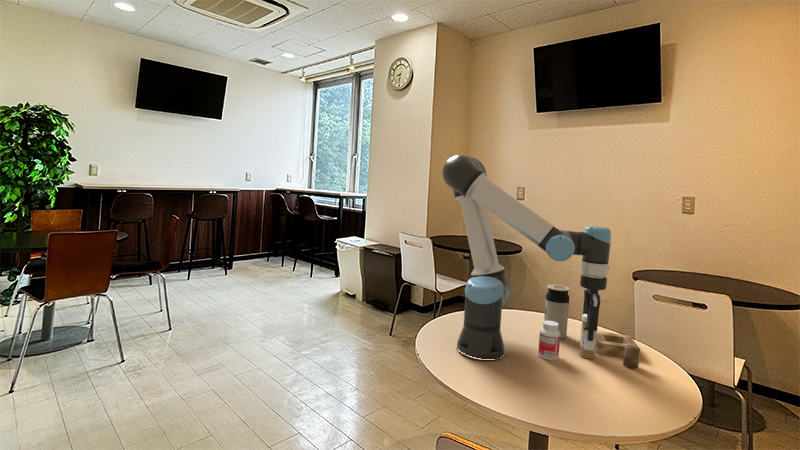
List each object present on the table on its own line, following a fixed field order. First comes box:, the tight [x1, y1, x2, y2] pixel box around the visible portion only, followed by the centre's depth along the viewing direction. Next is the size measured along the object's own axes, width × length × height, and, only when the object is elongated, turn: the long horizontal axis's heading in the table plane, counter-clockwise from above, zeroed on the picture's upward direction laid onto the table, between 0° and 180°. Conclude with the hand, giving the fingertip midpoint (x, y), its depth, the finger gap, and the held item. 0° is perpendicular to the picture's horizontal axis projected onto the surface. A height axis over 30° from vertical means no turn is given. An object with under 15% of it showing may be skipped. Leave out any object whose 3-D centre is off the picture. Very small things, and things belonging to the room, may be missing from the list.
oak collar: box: [595, 330, 639, 358], centre depth 136 cm, size 12×12×4 cm
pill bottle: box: [537, 320, 561, 361], centre depth 127 cm, size 6×6×11 cm
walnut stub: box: [622, 345, 641, 370], centre depth 123 cm, size 4×4×6 cm
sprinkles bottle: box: [578, 313, 596, 359], centre depth 128 cm, size 5×5×14 cm
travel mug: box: [543, 284, 571, 340], centre depth 146 cm, size 8×8×18 cm
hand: (587, 346), depth 129 cm, fingers closed on sprinkles bottle, 4 cm apart
